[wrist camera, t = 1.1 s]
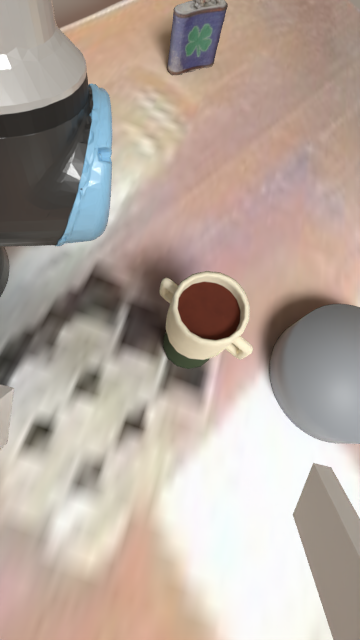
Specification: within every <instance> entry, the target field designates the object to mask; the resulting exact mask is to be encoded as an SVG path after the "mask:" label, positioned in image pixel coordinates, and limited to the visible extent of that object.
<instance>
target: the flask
mask: <svg viewBox="0 0 360 640" xmlns="http://www.w3.org/2000/svg"><path fill="white" fill-rule="evenodd" d="M226 10H227V2H225V0H193V1H189V2H186V3H183V4H180V5H177V6H176V7H175V8H174V13H173V24H172V32H171V40H170V51H169V60H168V66H167V67H168V72H170V74H171V75H173V74H176V75H182V73H186V72H192V71H195V70H196V69H199V70H200V69H201V68H206V67H212V65H213V64H214V58H215V54H216V50H217V46H218V42H219V38H220V33H221V29H222V25H223V22H224V18H225V13H226Z"/></svg>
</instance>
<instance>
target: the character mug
mask: <svg viewBox="0 0 360 640" xmlns="http://www.w3.org/2000/svg"><path fill="white" fill-rule="evenodd" d="M159 293H160V295H161V296H162V297H163V298H164V299H165V300H166V301H168V302H169V303H170V307H169V310H168V313H167V319H166V333H165V335H164V344H163V348H164V350H165V352H166V355H167V357H168V359H169V360H171V361H172V362H173V363H174V364H175V365H177V366H179V367H183V368H187V369H190V368H195V367H200V366H201V365H203V364H204V363H205V362H207V361H208V360H209V359H210V358H212V357H215V356H217V355H219V354H220V353H221V352H222V351H224V350H225V349H226V350H227V351H228V352H230V353H231V354H232V355H233V356H234V357H236V358H238V359H243V358H245V357H246V356H248V355H249V354H251V353H252V349H253V347H252V346H251V345H250V344H249V343H248V342H247V341H246V340H245V339H243V338H242V337H241V336H240V335H241V334H242V333H243V331H244V329H245V327H246V325H247V323H248V321H249V308H250V305H249V302H248V299H247V296H246V293H245V292H244V290H243V289H242V287H241V286H240V285H239V284H238V283H237V282H236V281H235V280H234V279H232V278H231V277H229V276H227V275H225V274H222V273H219V272H210V271H205V272H200V273H196V274H192V275H191V276H189V277H188V278H186V279H185V280H183V281H182V282H181V283H180V285H179V286H178V285H177V284H176V283H174V282H173V281H172V280H171V279H169V278H164V279H163V280H162V282H161V286H160V290H159Z"/></svg>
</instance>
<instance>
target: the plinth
mask: <svg viewBox="0 0 360 640" xmlns="http://www.w3.org/2000/svg"><path fill="white" fill-rule="evenodd" d="M270 380H271V385H272V389H273V392H274V395H275V397H276V399H277V401H278V403H279V405H280V407H281V408H282V410H283V412H284V413H285V414H286V416H287V417H288V418H289V419H290V420H291V421H292V422H293V423H294V424H295V425H296V426H297V427H298V428H299V429H301V430H302V431H303V432H305V433H307V434H308V435H310V436H312V437H314V438H316V439H319V440H322V441H326V442H331V443H346V444H360V307H356V306H353V305H347V304H332V305H327V306H323V307H320V308H318V309H315V310H314V311H312V312H310V313H309V314H307V315H306V316H304V317H303V318H301V319H300V320H298V321H297V322H296V323H294V324H293V325H291V326H290V327H289V328H287V329H286V330H285V331H284V332H283V333H282V334H281V336H280V337H279V338H278V340H277V342H276V344H275V346H274V348H273V351H272V354H271V359H270Z"/></svg>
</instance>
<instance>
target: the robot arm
mask: <svg viewBox="0 0 360 640" xmlns="http://www.w3.org/2000/svg"><path fill="white" fill-rule="evenodd" d="M111 146H112V114H111V103H110V97H109V95H108V93H107V91H106V90H105V89H103V88H98V86H97V85H96V84H94V85H93V84H89V85H88V79H87V68H86V62H85V59H84V57H83V54H82V53H81V52H80V50H79V49H78V48H77V47H76V46H75V45H74V44H73V43H72V42H71V41H70V40H69V39H68V38H67V37H66V36H65V35H64V33H63V32H62V31H61V30H60V29H59V28H58V27H57V25H56V22H55V16H54V10H53V4H52V0H0V296H1V295H2V293H3V291H4V289H5V287H6V284H7V281H8V276H9V261H8V256H7V253H6V251H5V249H4V247H3V246H36V245H55V246H61V245H63V244H64V243H73V242H84V241H91V240H94V239H96V238H97V237H99V236H100V235H102V233H103V232H104V231H105V229H106V226H107V222H108V217H109V209H110V197H111V179H112V162H111V158H110V157H111V155H112V147H111ZM13 393H14V388H12V387H8V386H4V385H0V450H1V449H2V448H3V447H4V446H5V445H6V444H7V442H8V434H9V426H10V417H11V409H12V401H13ZM293 517H294V520H295V523H296V526H297V529H298V532H299V535H300V538H301V541H302V544H303V547H304V550H305V554H306V557H307V560H308V563H309V566H310V569H311V572H312V575H313V578H314V581H315V584H316V587H317V590H318V594H319V597H320V600H321V603H322V606H323V609H324V612H325V615H326V618H327V621H328V624H329V627H330V630H331V633H332V637H333V640H360V519H359V517H358V515H357V513H356V511H355V510H354V508H353V506H352V504H351V502H350V501H349V499H348V497H347V495H346V493H345V492H344V490H343V488H342V486H341V484H340V483H339V481H338V479H337V477H336V475H335V474H334V472H333V470H332V468H331V467H327V466H323V465H319V464H315V463H313V465H312V468H311V470H310V473H309V475H308V478H307V480H306V483H305V486H304V488H303V491H302V493H301V496H300V498H299V501H298V503H297V506H296V508H295V511H294V513H293Z"/></svg>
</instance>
